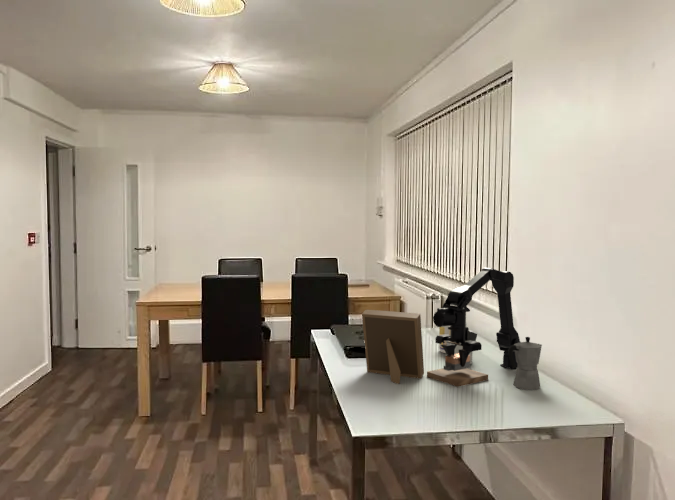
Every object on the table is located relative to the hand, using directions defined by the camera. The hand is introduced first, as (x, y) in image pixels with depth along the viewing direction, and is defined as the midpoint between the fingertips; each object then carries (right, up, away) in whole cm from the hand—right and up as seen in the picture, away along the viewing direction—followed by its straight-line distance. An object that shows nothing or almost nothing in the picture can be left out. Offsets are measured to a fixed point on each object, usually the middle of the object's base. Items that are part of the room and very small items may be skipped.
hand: (457, 365), depth 219 cm
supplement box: (+8, -4, +26) cm, 27 cm away
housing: (0, -1, 0) cm, 1 cm away
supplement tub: (+7, -3, +43) cm, 44 cm away
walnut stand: (0, -5, 0) cm, 5 cm away
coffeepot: (+22, -6, -11) cm, 25 cm away
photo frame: (-25, -5, +1) cm, 26 cm away
